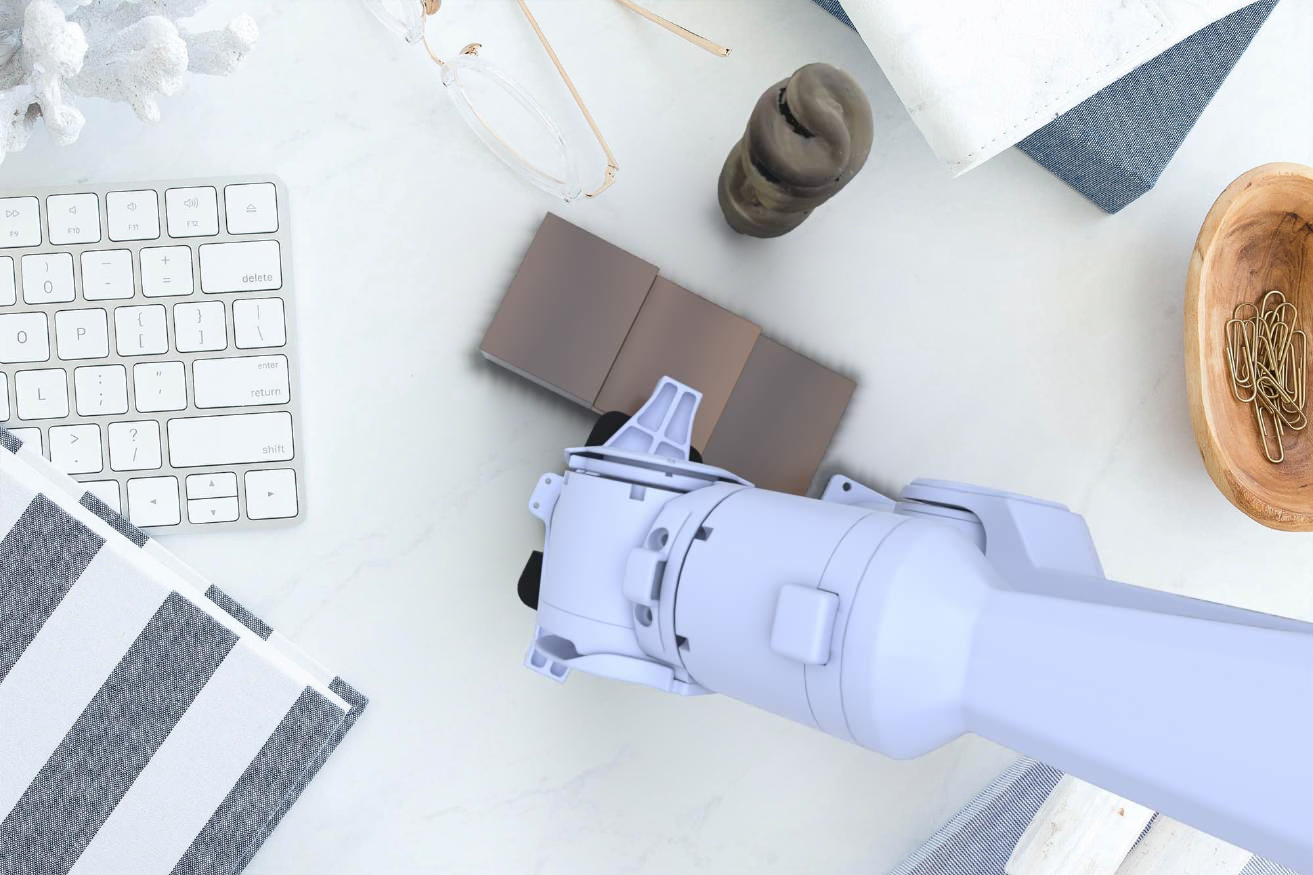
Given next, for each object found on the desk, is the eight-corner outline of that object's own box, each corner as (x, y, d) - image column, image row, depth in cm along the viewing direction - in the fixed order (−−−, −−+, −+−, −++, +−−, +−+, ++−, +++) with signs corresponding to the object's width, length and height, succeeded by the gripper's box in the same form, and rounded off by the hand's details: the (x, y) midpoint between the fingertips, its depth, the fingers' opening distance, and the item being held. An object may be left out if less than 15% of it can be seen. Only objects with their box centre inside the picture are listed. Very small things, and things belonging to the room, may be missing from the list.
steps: (849, 385, 54) (876, 378, 49) (791, 508, 53) (813, 513, 49) (548, 232, 52) (547, 210, 47) (485, 358, 51) (478, 348, 47)
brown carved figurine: (738, 145, 53) (809, 23, 38) (813, 202, 54) (913, 103, 39) (682, 223, 53) (733, 130, 38) (759, 279, 53) (839, 209, 38)
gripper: (611, 331, 37) (596, 365, 51) (449, 659, 36) (478, 604, 50) (765, 408, 38) (709, 421, 51) (610, 733, 37) (595, 659, 50)
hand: (603, 515), depth 50 cm, fingers closed on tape, 5 cm apart
